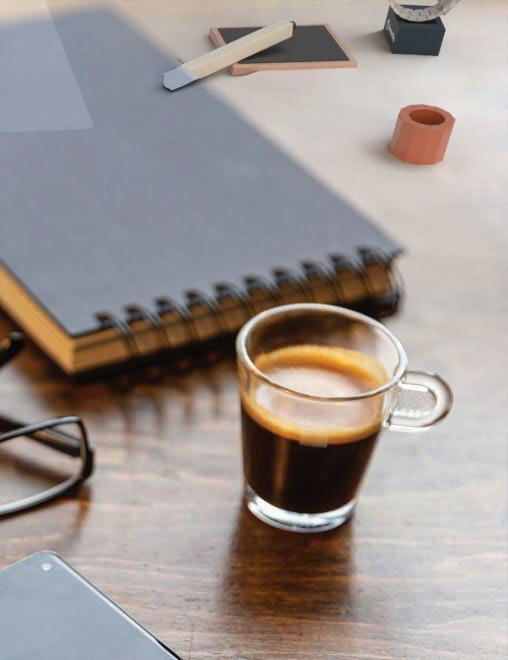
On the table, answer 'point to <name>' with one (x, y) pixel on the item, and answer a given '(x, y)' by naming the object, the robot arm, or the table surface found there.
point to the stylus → (240, 48)
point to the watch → (416, 27)
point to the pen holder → (421, 134)
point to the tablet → (288, 49)
